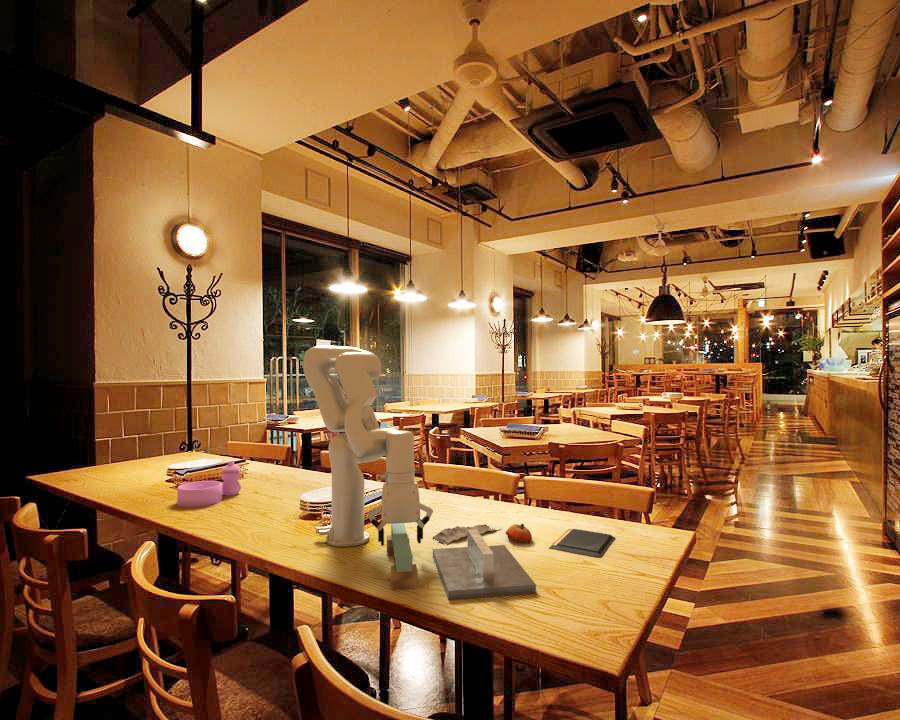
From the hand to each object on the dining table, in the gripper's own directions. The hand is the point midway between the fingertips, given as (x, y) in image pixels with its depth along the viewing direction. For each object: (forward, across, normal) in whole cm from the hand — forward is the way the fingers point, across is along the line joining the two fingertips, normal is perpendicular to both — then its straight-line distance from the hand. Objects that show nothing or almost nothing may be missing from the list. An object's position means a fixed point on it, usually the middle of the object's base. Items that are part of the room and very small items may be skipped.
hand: (400, 543), depth 132 cm
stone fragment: (+5, +22, +19) cm, 30 cm away
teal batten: (+1, 0, -5) cm, 5 cm away
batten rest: (+5, 0, -4) cm, 6 cm away
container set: (+3, -68, +76) cm, 102 cm away
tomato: (+5, +36, +10) cm, 38 cm away
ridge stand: (+5, +19, -12) cm, 22 cm away
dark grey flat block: (+6, +54, +6) cm, 54 cm away
